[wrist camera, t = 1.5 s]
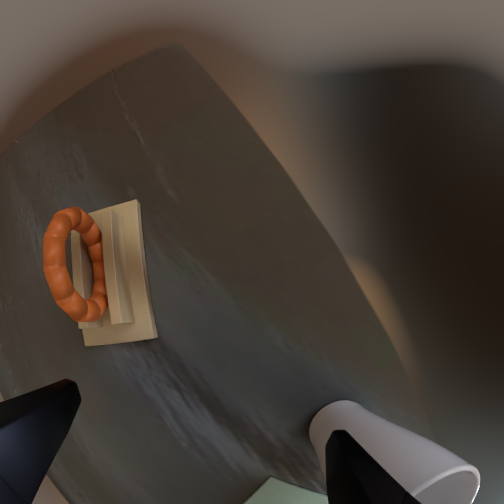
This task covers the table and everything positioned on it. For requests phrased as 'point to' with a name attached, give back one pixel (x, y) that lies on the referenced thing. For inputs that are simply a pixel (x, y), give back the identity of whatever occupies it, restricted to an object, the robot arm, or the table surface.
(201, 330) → the table surface
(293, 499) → the mat
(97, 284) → the ring
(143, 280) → the stand
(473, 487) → the drinking glass
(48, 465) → the robot arm
